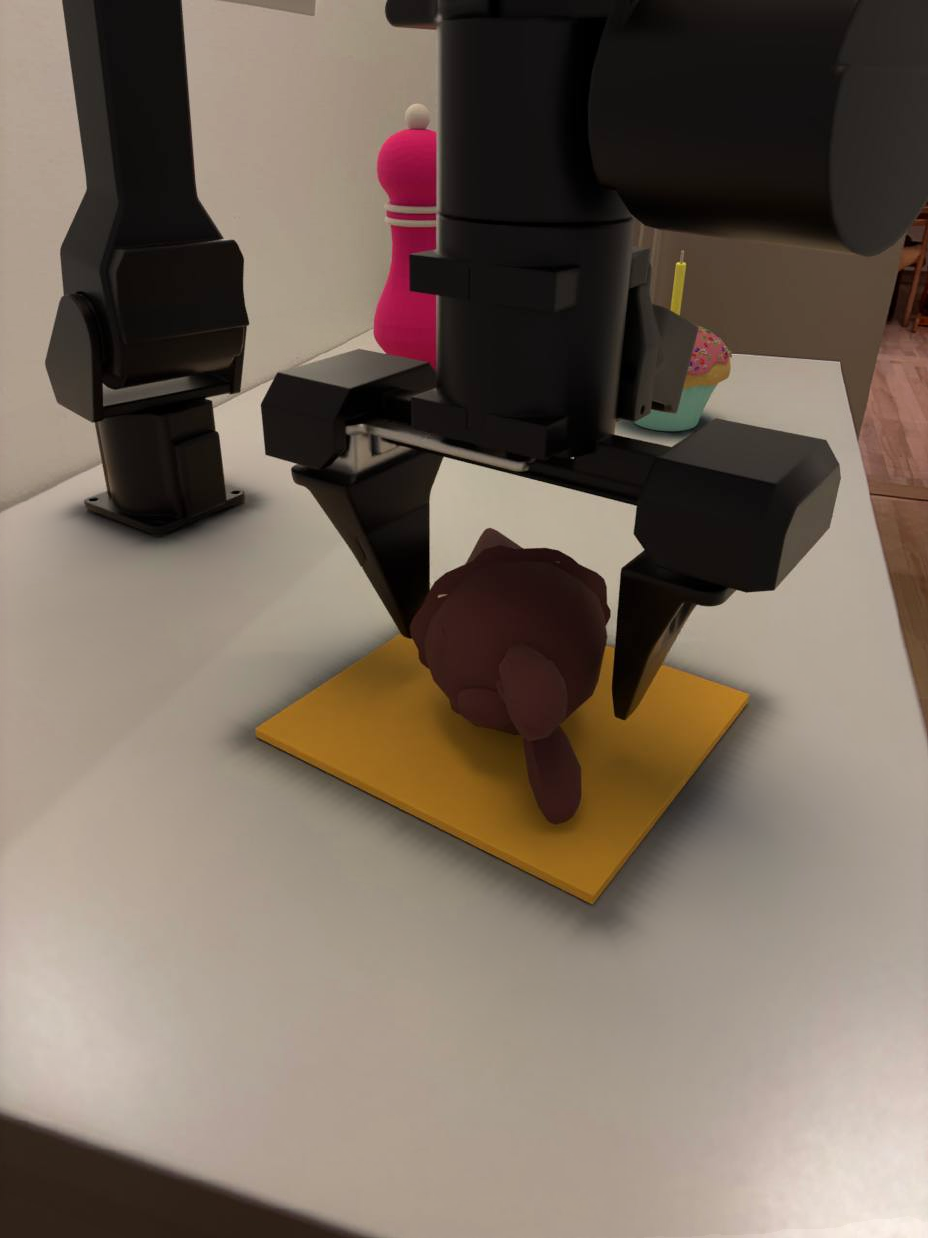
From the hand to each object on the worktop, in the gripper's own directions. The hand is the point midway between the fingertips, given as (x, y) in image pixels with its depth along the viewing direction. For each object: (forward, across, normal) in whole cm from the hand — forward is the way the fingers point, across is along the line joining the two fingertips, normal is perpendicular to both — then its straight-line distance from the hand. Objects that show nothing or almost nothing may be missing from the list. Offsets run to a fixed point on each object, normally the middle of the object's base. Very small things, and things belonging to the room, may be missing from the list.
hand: (513, 671), depth 35 cm
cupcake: (+2, +11, -38) cm, 40 cm away
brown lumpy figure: (+2, 0, 0) cm, 2 cm away
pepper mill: (+2, +31, -35) cm, 47 cm away
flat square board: (+2, 0, 0) cm, 2 cm away
